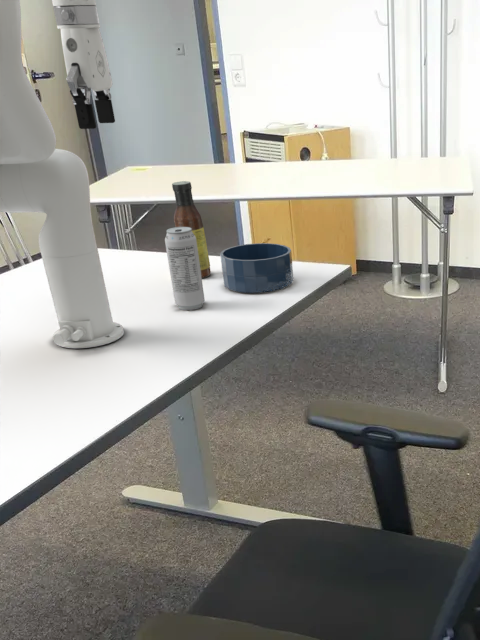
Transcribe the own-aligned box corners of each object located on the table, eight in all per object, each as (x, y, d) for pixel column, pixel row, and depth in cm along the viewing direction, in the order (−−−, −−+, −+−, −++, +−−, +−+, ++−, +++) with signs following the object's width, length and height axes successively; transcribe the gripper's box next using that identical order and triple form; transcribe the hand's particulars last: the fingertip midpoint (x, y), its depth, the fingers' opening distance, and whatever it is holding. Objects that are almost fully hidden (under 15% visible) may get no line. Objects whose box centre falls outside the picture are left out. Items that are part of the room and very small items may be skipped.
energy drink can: (207, 301, 160) (197, 225, 151) (202, 310, 155) (190, 232, 146) (179, 302, 160) (167, 226, 152) (172, 311, 155) (159, 233, 147)
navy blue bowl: (286, 294, 162) (284, 260, 159) (216, 294, 164) (212, 260, 160) (298, 274, 175) (296, 242, 171) (233, 275, 176) (229, 243, 172)
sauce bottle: (214, 272, 179) (202, 179, 168) (207, 279, 174) (194, 184, 163) (187, 272, 180) (173, 180, 168) (179, 279, 174) (164, 185, 163)
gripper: (78, 18, 131) (99, 130, 141) (114, 18, 145) (131, 120, 155) (36, 19, 132) (60, 131, 141) (76, 19, 146) (96, 121, 156)
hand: (97, 125), depth 148 cm, fingers open, 9 cm apart
